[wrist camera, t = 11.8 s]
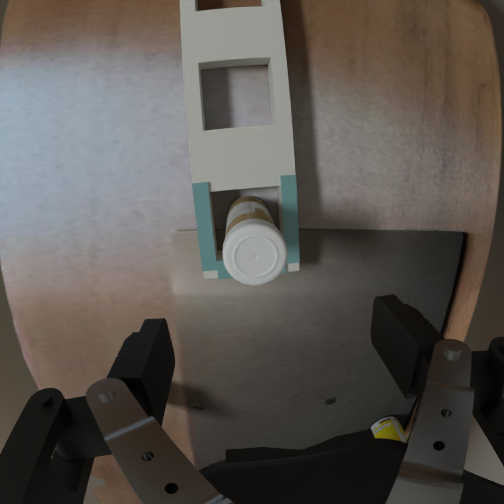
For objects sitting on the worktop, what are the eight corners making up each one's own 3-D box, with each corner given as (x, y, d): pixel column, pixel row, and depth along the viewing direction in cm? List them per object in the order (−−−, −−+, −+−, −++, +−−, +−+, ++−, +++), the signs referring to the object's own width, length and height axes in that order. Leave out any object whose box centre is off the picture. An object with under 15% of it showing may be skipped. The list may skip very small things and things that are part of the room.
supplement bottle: (363, 434, 48) (380, 477, 38) (379, 413, 47) (400, 457, 37) (386, 435, 49) (404, 475, 39) (402, 415, 48) (424, 455, 38)
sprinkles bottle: (274, 225, 35) (298, 271, 23) (236, 242, 36) (239, 297, 23) (258, 188, 34) (273, 213, 21) (218, 205, 34) (210, 241, 22)
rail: (269, -42, 25) (272, -56, 22) (294, 260, 37) (299, 271, 34) (182, -36, 25) (178, -50, 22) (206, 268, 37) (204, 280, 33)
